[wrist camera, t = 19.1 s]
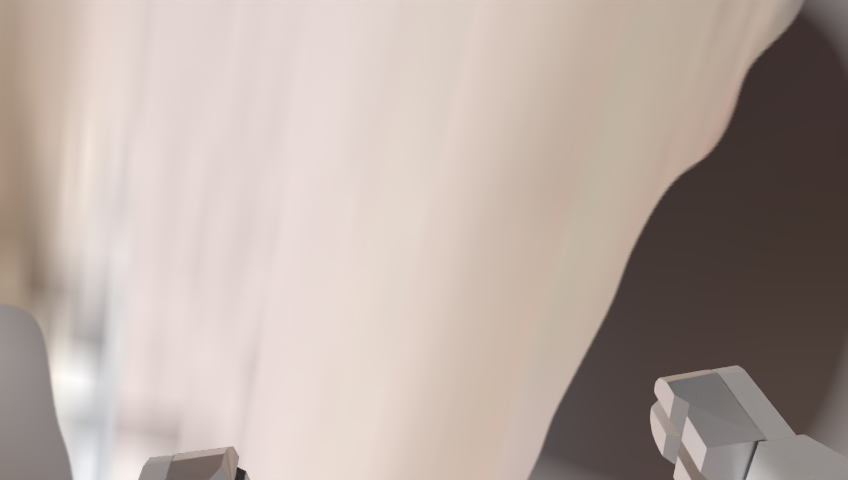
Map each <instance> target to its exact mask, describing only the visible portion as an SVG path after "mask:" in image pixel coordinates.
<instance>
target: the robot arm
mask: <svg viewBox="0 0 848 480" xmlns="http://www.w3.org/2000/svg"><path fill="white" fill-rule="evenodd" d="M654 392H655V394H656V396H657V398H658V401H657V402H656V403H655V404H654V405H653V406H652V408H651V415H650V421H651V428H652V433H653V436H654V439H655V442H656V444H657V446H658V448H659V450H660V452H661V454H662V456H663V457H665V458H667V459H668V460H669V461H671V462H672V463H674V464H675V465H676V467H675V472H674V479H675V480H848V458H846V457H844V456H842V455H840V454H839V453H837V452H835V451H833V450H831V449H830V448H828V447H826V446H824V445H822V444H821V443H819V442H817V441H815V440H813V439H811V438H810V437H808V436H806V435H797V436H796V435H795V433H794V432H793V431H792V430H791V428H790V427H789V426H788V424H787V423H786V422H785V421H784V419H783V418H782V417H781V416H780V415H779V413H778V412H777V411H776V409H775V408H774V407H773V406H772V404H771V403H770V402H769V401H768V399H767V398H766V397H765V395H764V394H763V393H762V392H761V390H760V389H759V388H758V387H757V385H756V384H755V383H754V381H753V380H752V379H751V378H750V376H749V375H748V374H747V373H746V371H745V370H744V369H742V368H741V367H739V366H731V367H725V368H719V369H712V370H702V371H697V372H691V373H685V374H680V375H674V376H668V377H662V378H659V379H658V380H657V381H656V384H655V389H654ZM238 460H239V456H238V454H237V452H236V451H235V449H234V447H225V448H217V449H209V450H202V451H194V452H186V453H179V454H172V455H165V456H158V457H151V458H149V460H148V461H147V462H146V463H145V465H144V466H143V468H142V471H141V474H140V476H139V479H138V480H250V479H249V477H248V475H247V472H246V471H244V470H242V469H240V468H239V467H237V465H238Z"/></svg>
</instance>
